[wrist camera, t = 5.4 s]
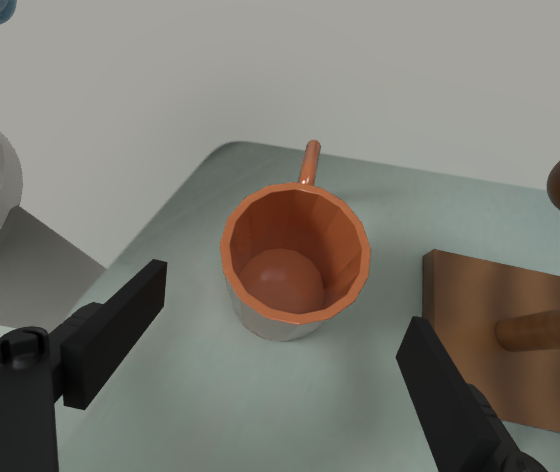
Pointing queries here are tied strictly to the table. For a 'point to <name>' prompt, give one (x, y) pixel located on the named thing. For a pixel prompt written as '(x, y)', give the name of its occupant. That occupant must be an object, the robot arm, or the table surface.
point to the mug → (293, 256)
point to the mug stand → (500, 329)
